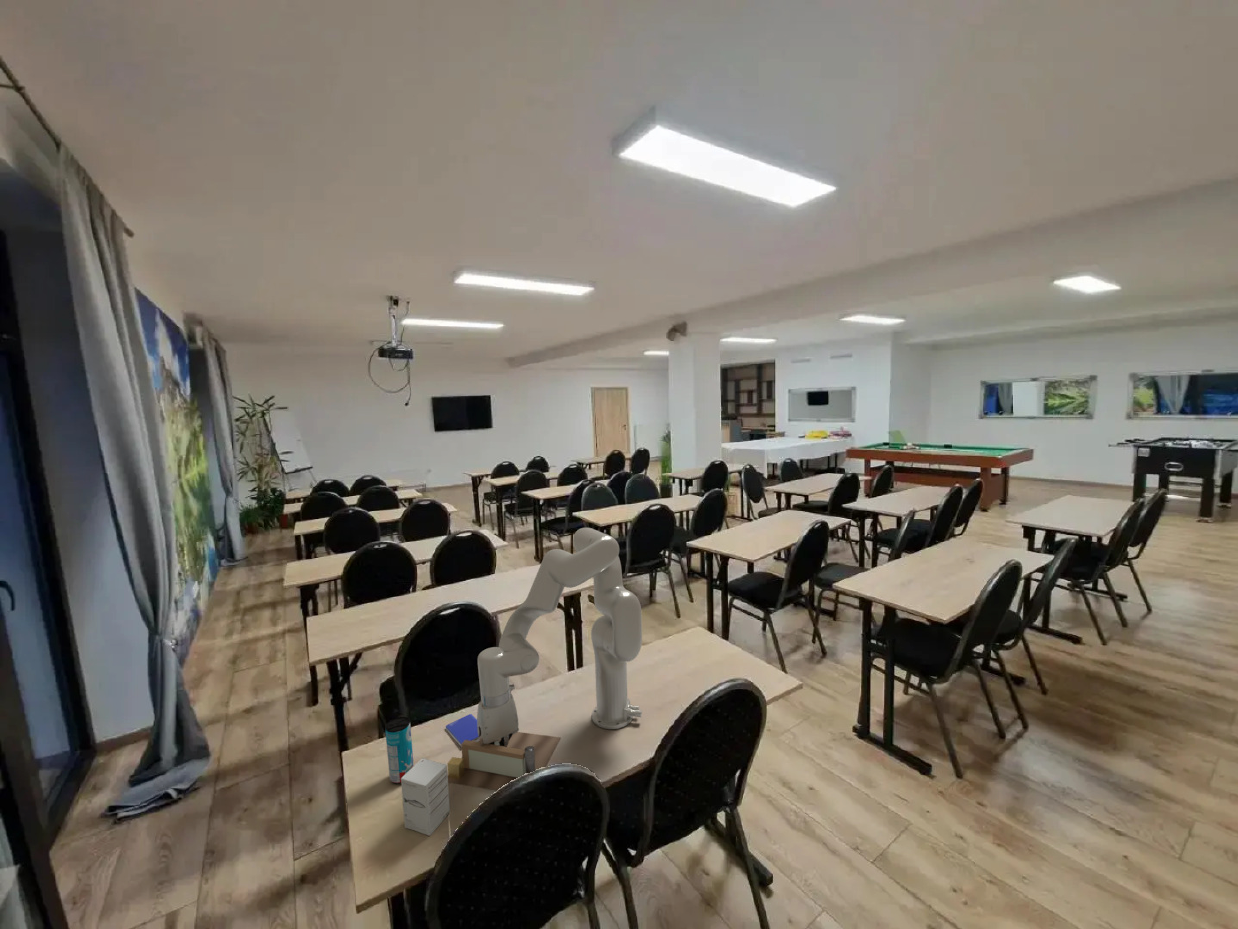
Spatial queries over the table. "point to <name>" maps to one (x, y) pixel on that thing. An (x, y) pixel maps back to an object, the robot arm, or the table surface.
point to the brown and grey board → (493, 758)
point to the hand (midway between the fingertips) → (501, 759)
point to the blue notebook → (464, 729)
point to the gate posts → (458, 764)
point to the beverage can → (399, 748)
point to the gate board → (519, 740)
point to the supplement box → (425, 796)
